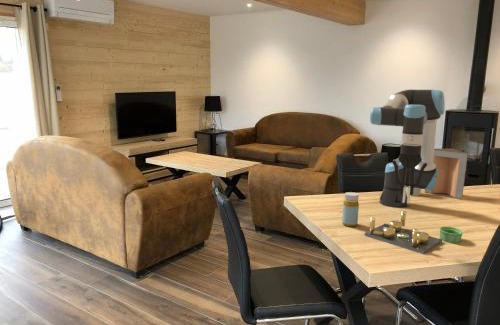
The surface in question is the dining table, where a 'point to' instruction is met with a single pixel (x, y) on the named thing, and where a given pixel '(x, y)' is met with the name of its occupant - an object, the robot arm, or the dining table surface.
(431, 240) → the control panel
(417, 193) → the can
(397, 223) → the knob
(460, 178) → the cabinet
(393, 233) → the knob
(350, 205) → the bottle
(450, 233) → the ramekin
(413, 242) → the knob
